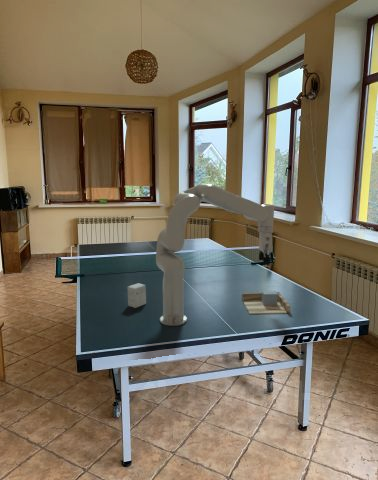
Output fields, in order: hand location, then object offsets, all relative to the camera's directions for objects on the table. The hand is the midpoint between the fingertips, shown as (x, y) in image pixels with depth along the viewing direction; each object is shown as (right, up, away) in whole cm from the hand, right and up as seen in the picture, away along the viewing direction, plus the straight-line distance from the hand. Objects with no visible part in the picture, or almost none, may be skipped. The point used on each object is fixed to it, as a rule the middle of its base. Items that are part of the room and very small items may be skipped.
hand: (264, 262), depth 192 cm
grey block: (+3, -22, +3) cm, 22 cm away
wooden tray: (+1, -23, +1) cm, 23 cm away
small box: (-65, -23, +5) cm, 70 cm away
